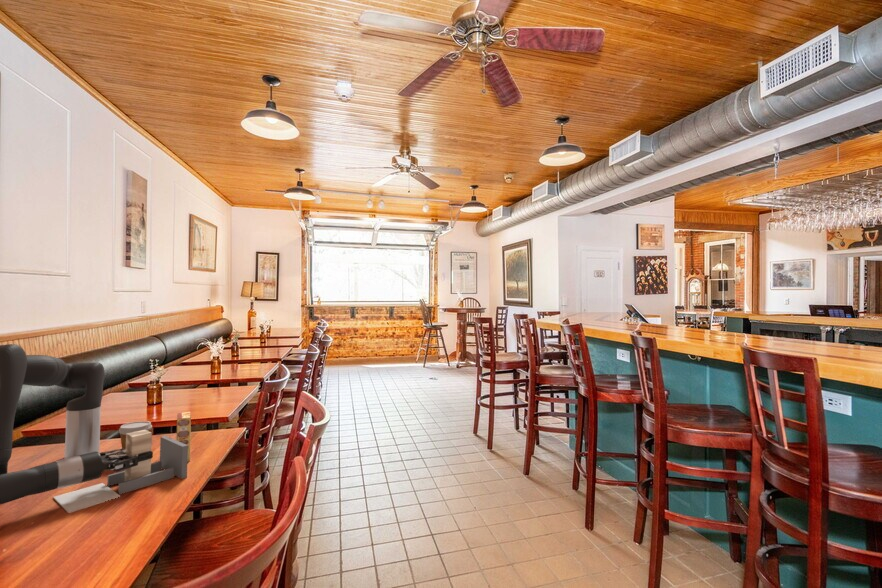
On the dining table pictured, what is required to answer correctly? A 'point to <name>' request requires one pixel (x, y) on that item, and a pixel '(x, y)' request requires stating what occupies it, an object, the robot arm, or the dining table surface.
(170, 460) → the lane rack
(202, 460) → the dining table surface
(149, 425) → the disposable coffee cup
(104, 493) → the mat
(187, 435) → the candy box
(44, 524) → the dining table surface
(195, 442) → the dining table surface
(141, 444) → the ash block
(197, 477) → the dining table surface
